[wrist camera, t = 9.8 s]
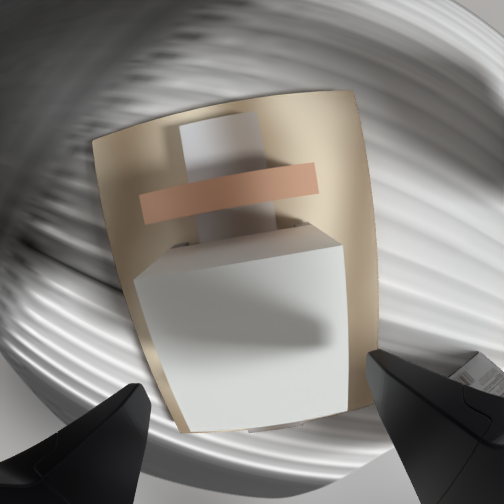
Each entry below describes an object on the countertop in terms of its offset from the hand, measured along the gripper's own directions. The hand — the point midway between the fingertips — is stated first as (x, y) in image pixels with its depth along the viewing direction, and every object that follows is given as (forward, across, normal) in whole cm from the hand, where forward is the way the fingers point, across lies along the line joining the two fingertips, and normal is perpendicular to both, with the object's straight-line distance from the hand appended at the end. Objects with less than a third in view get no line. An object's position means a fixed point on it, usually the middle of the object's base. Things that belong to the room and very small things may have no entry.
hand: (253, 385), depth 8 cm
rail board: (+8, 0, 0) cm, 8 cm away
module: (+7, 0, 0) cm, 7 cm away
